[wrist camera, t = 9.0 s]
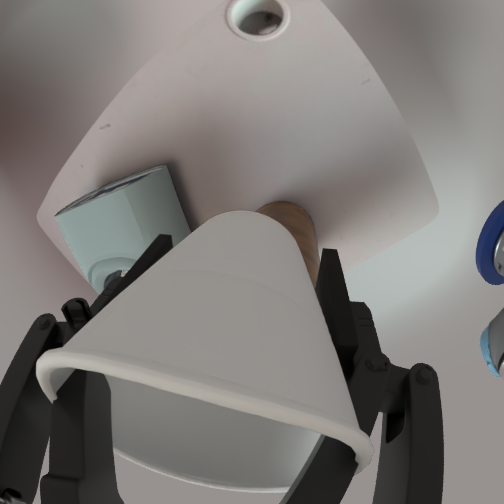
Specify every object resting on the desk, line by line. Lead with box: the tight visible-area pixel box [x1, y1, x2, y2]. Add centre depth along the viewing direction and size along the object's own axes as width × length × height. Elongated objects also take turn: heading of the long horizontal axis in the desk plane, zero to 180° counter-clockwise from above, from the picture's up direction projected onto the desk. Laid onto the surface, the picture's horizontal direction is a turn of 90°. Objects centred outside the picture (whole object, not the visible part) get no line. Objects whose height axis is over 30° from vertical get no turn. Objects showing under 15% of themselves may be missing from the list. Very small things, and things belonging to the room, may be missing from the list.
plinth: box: [257, 202, 320, 290], centre depth 37 cm, size 11×11×20 cm
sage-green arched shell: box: [55, 165, 191, 294], centre depth 43 cm, size 22×19×13 cm
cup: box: [36, 210, 374, 493], centre depth 11 cm, size 10×10×11 cm
